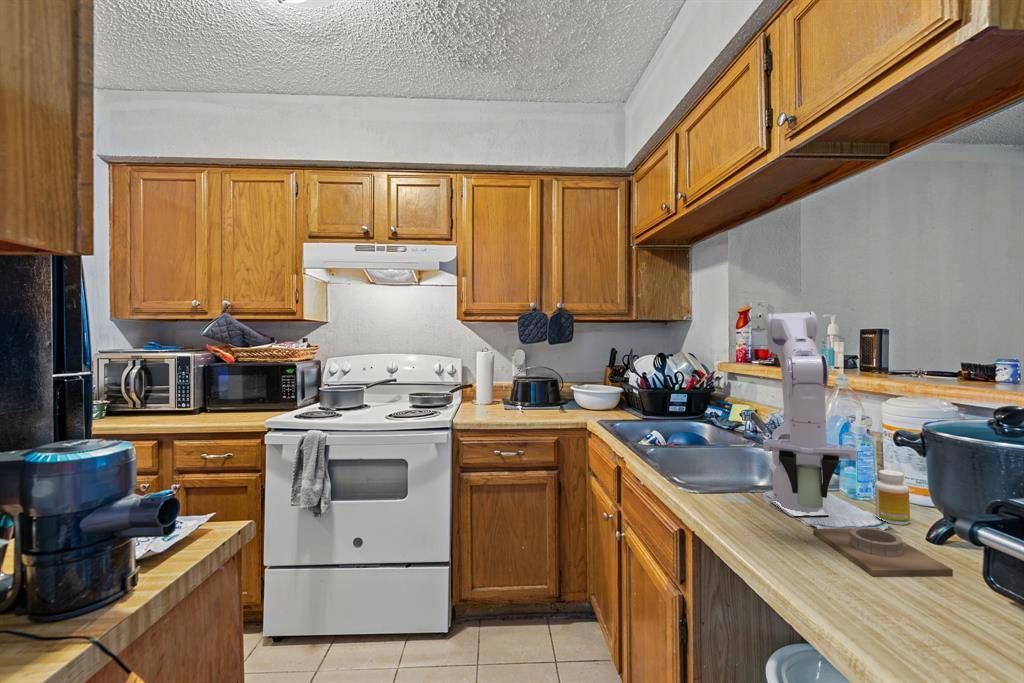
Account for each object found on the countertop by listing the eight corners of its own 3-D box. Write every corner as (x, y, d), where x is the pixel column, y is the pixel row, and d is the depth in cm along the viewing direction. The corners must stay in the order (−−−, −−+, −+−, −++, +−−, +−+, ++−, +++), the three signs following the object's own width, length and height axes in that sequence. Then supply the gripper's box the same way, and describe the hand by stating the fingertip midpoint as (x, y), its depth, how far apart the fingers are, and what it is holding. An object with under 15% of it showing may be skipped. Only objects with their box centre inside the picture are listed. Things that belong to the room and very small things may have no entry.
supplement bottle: (916, 526, 92) (915, 476, 92) (885, 524, 93) (883, 476, 93) (899, 515, 97) (898, 468, 97) (870, 514, 98) (868, 468, 98)
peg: (792, 500, 89) (791, 464, 89) (814, 500, 88) (813, 463, 88) (804, 508, 85) (803, 470, 85) (827, 508, 84) (826, 469, 84)
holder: (813, 533, 90) (813, 518, 90) (878, 532, 89) (877, 517, 89) (873, 576, 74) (872, 557, 74) (952, 575, 73) (952, 556, 73)
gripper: (759, 421, 87) (762, 493, 88) (855, 427, 79) (858, 508, 79) (765, 415, 93) (768, 483, 93) (856, 420, 84) (858, 495, 85)
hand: (809, 493), depth 86 cm, fingers closed on peg, 4 cm apart
